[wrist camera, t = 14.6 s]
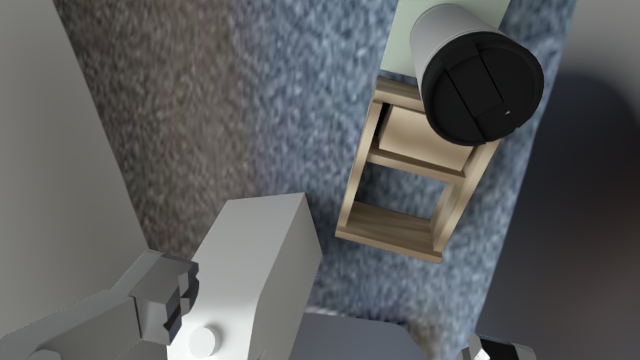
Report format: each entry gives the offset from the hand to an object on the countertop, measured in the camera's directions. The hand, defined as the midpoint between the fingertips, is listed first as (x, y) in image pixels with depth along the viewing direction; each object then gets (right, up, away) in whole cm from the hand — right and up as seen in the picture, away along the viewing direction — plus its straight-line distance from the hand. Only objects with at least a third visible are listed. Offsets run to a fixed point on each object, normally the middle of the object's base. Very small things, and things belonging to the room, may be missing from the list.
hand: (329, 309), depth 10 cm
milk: (-7, -3, +43) cm, 44 cm away
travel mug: (+12, +18, +25) cm, 34 cm away
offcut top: (+11, +9, +28) cm, 31 cm away
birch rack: (+11, +6, +34) cm, 36 cm away
